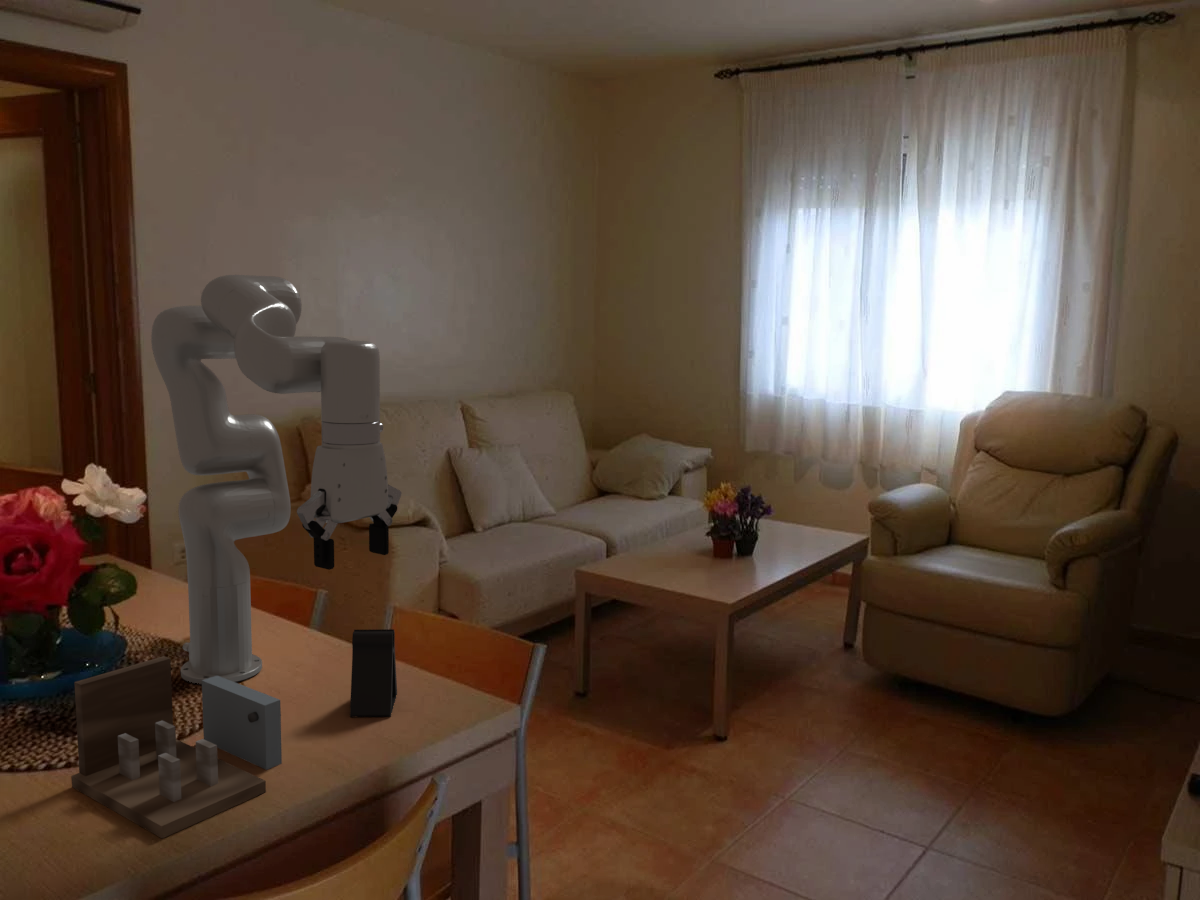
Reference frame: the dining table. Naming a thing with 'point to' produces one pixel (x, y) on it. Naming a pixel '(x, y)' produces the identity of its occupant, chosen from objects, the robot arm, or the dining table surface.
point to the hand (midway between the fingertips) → (352, 560)
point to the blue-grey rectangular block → (242, 721)
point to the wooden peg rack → (149, 753)
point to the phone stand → (373, 673)
